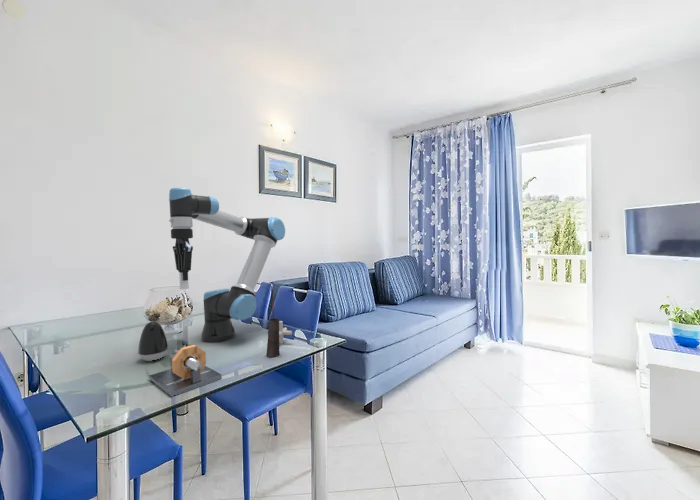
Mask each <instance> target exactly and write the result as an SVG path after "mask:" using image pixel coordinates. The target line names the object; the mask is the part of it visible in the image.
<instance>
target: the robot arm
mask: <svg viewBox="0 0 700 500" xmlns="http://www.w3.org/2000/svg"><path fill="white" fill-rule="evenodd" d="M168 194H169V195H168V201H169V216H170V217H169V218H170V219H169V221H168V222H170V228H172V229H170V238H171V239H173V240H174V239H175V244H174V246H172V251H173V254H174V261H175V269H176V271H178V273H179V277H178V278H179V289H180V290H187V289H189V287H190V285H189V272H190V271H191V270H192V257H193V256H192V255H193V250H194V249H193V248H194V246H193V245H190V240H189V239H193V237H194V235H193V232H194V231H193V229H192V228H193V225H194V223H193V220H196V221H200V222H202V223H205V224H209V225H213V226H215V227H219V228H221V229H225V230H227V231H228V230H229V231H231V232H234V233H235V234H236V235H238V236H240V237H243V238H246V239H250V240H254V242H253V244H252V247H251V249H250V250H251V251H250V252H249V254H248V257H247V259H246V261H245V263H244V266H243V268H242V270H241V272H240V274H239V277H238V280H237V281H236V284H234V285H232V286H230V288H220V289H213V290H208V291H206V292H204V294H203V312H204V313H203V314H204V316H203V317H204V325H203V328H202V332H201V334H200V338H201V339H200V340H201V341H203V342H205V343H218V342H224V341H227V340H230V339H233V338H235V336H236V330H235V328H234V325H233V323H232V320H236V321H242V320H243V321H244V320H247V319H249V318H251V317H252V316H253V315H254V313H255V312H256V309H257V304H258V303H257V299H256V292H255V288H256V287H257V284H258V282H259V280H260V276H261V273H262V272H263V269H264V267H265V265H266V262H267V260H268V256H269V254H270V252H271V249H272V248H274V247H276V245H277V243H278V241H281V240H283V239H284V238H285V235H286V227H285V223H284V222H283V221H282V220H281V218H279V217H276V216H275V217H273V216H270V217H258V218H257V217H256V218H249V217H244V216H237V215H233V214H230V213H227V212H225V211H222V210H220V202H219V201H218V199H217V198H216V197H213V196H210V195H208V196H205V195H196V194H192V190H191V189H190V188H187V187H172V188H170V189H169V193H168ZM231 319H232V320H231Z"/></svg>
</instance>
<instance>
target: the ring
mask: <svg viewBox="0 0 700 500" xmlns="http://www.w3.org/2000/svg"><path fill="white" fill-rule="evenodd" d="M178 350H179V351H178V353H177V354H176V355H175V356H174V358H173V359H172V358H171V359H172V372H173V373H174V374H176V375H178V376H179V377H181V378H183V379H188V378H190V370H191V368H187V369H185V368H184V365H183V362H184V360H185V359H186V358H187V357H188V356H193V357H194V359H196V360H198V361H200V362H201V366H200V368H199V369H200V372H201V370H202V369H203V367H204V366H206V365H207V357H206V351H205V350H203V349H202V348H201V347H199V346H197V345H195V344H192V345H188V346H184V347H181V348H180V349H178Z"/></svg>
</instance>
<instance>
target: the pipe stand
mask: <svg viewBox="0 0 700 500" xmlns="http://www.w3.org/2000/svg"><path fill="white" fill-rule="evenodd" d="M179 350H180V349H173V350H172V351H171V352H170V366H171V368H169V369H166V370H162V371H160V372H159V371H158V372H156V373H153V374H150V375H148V380H149V379H150V380H151V381H153V382H154V383H155V384H156V385H158V386H159V387H160V388H161V389H162V391H163V390H164V391H165V392H166V393H165V392H164V391H163V392H164V393H165V394H167V393H168V394H169V395H170V396H171V398H173V397H175V396H174V395H176V396H178V395H177V394H179V395H181V394H184V393H186V392H189V391H192V390H194V389H197V388H200V387H202V386H205V385H208V384H211V383H214V382H216V381H220V380H221V379H222V374H221V373H219V372H218V371H216V370H214V369H212V368H210V367H208V366H206V365H205V366H204V367H203V369H202V370H201V372H200V369H199V368H200V366H201V362H200V361H198V360H196V359H195V357H194V356H193V355H191V356H188V357H187V358H186V359H185V360H184V362H183V365H184V368H185V369H187V368H191V370H190V378H188V379H183V378H181V377H179V376H178V375H176V374H174V373H173V372H172V359H173V358H174V356H175V355H176V354H177V353H178V351H179ZM150 380H149V381H150ZM151 381H150V382H151ZM154 383H153V384H154ZM155 384H154V385H155ZM156 385H155V386H156ZM158 386H157V387H158ZM159 387H158V388H159ZM160 388H159V389H160ZM168 394H167V395H168ZM169 395H168V396H169ZM170 396H169V397H170Z"/></svg>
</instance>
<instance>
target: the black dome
mask: <svg viewBox="0 0 700 500" xmlns="http://www.w3.org/2000/svg"><path fill="white" fill-rule="evenodd" d="M168 343H169V342H168V338H167V336H166V333H165V331H164V328H163V327H162V325H161V324H160V323H159V322H158V321H154V320H153V321H148V323H146V324H145V325H144V327H143V329H142V330H141V334H140V338H139V342H138V349H137V350H138V351H137V352H138V354H139V357H140V358H141V360H143V361H144V362H153V361H152V360H156V359H159V360H161V359H163V358H162V357H165V356H166V354H167V351H168V349H169V344H168ZM160 358H161V359H160ZM156 361H157V360H156Z"/></svg>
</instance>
